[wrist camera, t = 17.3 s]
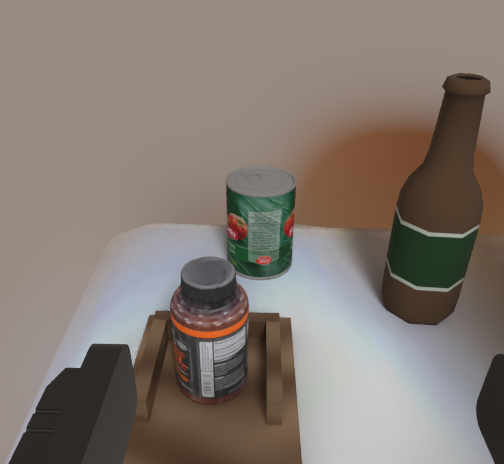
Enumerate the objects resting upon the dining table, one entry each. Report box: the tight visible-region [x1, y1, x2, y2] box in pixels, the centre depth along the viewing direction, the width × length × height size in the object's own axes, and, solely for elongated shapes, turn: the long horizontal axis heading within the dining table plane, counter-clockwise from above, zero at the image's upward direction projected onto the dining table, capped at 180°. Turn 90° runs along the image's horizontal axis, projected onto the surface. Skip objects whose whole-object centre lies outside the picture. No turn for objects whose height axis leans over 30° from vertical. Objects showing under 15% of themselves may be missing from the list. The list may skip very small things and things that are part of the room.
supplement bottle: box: [170, 257, 249, 405], centre depth 37 cm, size 6×6×11 cm
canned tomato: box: [226, 166, 296, 280], centre depth 56 cm, size 8×8×11 cm
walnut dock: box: [122, 311, 302, 464], centre depth 40 cm, size 16×14×4 cm
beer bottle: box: [382, 73, 490, 325], centre depth 46 cm, size 8×8×24 cm
